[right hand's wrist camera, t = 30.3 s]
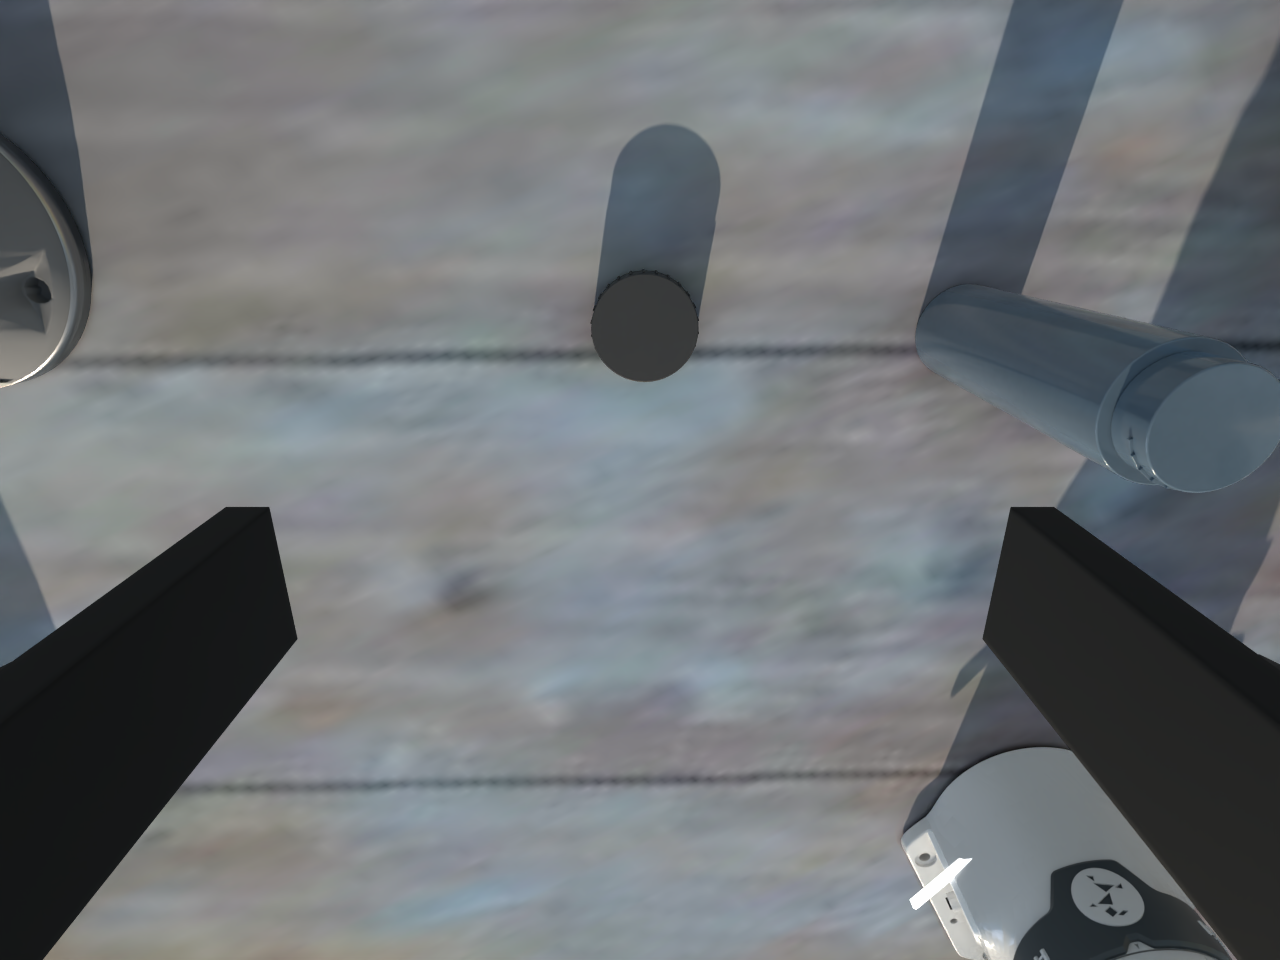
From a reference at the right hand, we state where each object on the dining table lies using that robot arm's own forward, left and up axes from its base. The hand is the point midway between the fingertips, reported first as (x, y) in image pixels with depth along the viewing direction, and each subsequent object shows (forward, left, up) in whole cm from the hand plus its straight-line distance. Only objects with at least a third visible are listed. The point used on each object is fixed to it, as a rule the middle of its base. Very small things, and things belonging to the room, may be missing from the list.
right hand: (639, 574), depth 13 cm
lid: (0, 0, -28) cm, 28 cm away
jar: (+9, +16, -30) cm, 35 cm away
